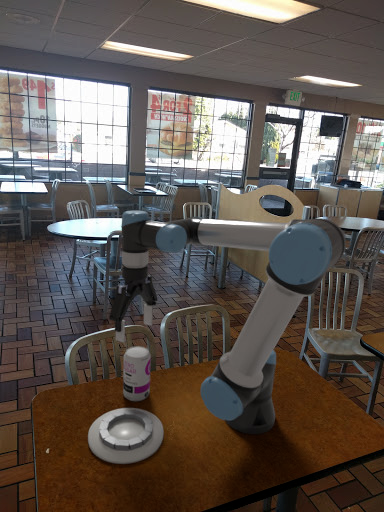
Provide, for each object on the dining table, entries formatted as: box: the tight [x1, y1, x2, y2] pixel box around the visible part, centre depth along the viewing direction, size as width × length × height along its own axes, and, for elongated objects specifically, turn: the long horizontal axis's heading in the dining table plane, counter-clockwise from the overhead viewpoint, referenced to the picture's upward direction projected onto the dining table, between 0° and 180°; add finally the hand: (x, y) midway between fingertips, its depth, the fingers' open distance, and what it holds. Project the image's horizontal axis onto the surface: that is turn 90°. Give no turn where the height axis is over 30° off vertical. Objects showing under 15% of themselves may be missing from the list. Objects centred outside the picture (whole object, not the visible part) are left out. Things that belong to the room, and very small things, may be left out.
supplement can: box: [122, 346, 152, 402], centre depth 121 cm, size 8×8×15 cm
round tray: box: [87, 407, 164, 465], centre depth 105 cm, size 20×20×3 cm
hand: (134, 332), depth 118 cm, fingers open, 13 cm apart
